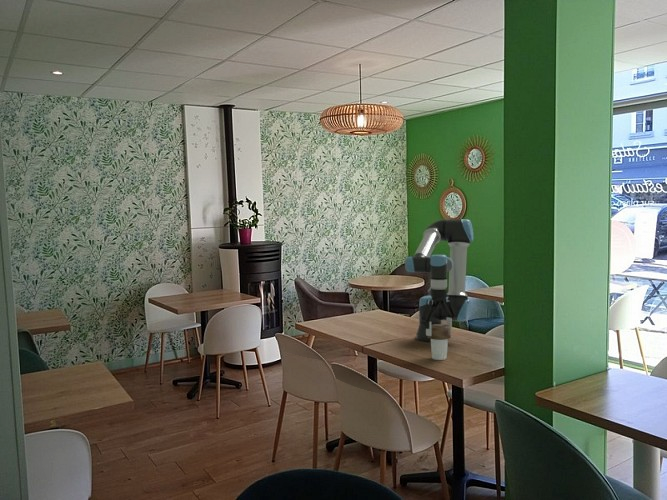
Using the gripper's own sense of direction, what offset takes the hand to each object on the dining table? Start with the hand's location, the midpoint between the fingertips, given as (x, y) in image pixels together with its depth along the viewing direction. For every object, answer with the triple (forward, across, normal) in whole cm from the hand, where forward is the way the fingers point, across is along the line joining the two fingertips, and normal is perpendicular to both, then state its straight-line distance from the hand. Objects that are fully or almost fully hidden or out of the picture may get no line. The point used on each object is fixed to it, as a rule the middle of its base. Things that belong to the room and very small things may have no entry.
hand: (439, 333), depth 257 cm
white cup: (+12, 0, 0) cm, 12 cm away
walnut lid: (+2, 0, 0) cm, 2 cm away
